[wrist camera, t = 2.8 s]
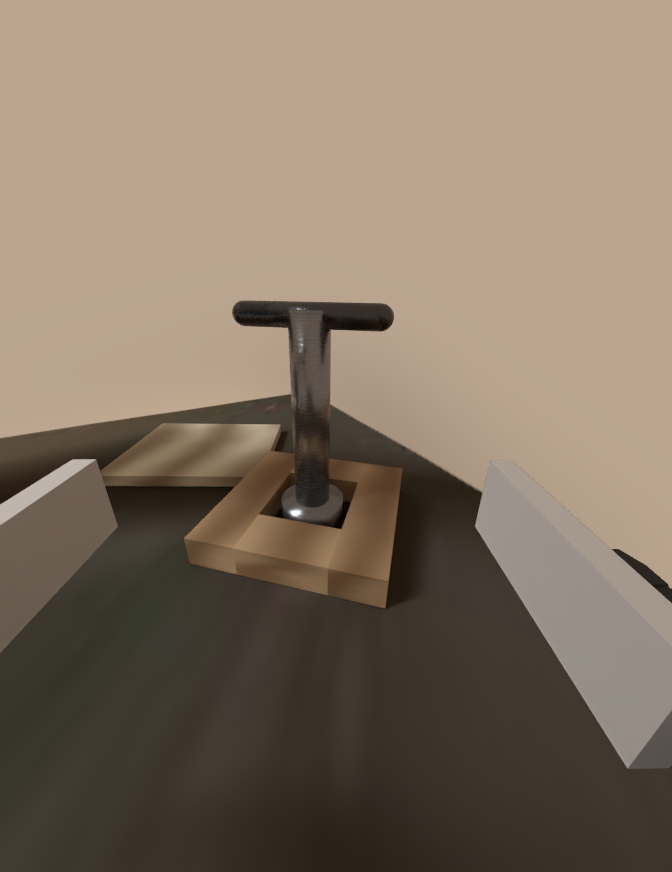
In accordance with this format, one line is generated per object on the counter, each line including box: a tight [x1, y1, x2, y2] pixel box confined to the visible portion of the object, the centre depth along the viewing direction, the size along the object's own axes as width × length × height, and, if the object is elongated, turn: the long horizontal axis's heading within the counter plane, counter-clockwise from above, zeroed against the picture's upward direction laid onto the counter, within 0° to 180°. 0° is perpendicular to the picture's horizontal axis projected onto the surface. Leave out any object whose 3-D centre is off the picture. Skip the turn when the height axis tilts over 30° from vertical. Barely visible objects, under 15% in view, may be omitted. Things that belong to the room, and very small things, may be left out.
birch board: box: [100, 424, 281, 487], centre depth 33 cm, size 14×12×1 cm
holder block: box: [184, 451, 403, 609], centre depth 23 cm, size 12×12×2 cm
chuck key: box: [232, 301, 394, 529], centre depth 21 cm, size 9×4×15 cm, turn 76°
